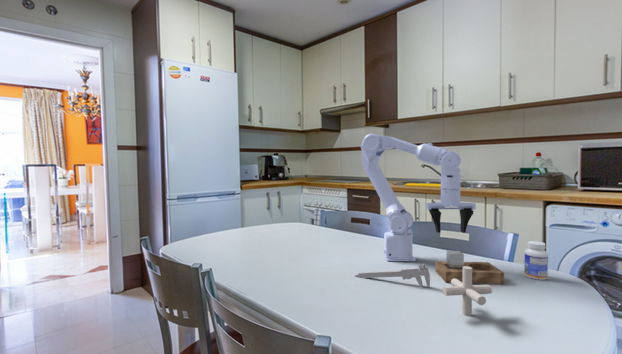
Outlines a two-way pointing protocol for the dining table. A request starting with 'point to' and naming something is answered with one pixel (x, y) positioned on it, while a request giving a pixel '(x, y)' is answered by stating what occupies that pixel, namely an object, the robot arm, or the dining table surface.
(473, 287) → the wooden cross jack
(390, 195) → the robot arm
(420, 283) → the caliper
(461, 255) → the square bit
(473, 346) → the dining table surface
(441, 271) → the socket block
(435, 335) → the dining table surface
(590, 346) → the dining table surface
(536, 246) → the pill bottle
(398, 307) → the dining table surface
